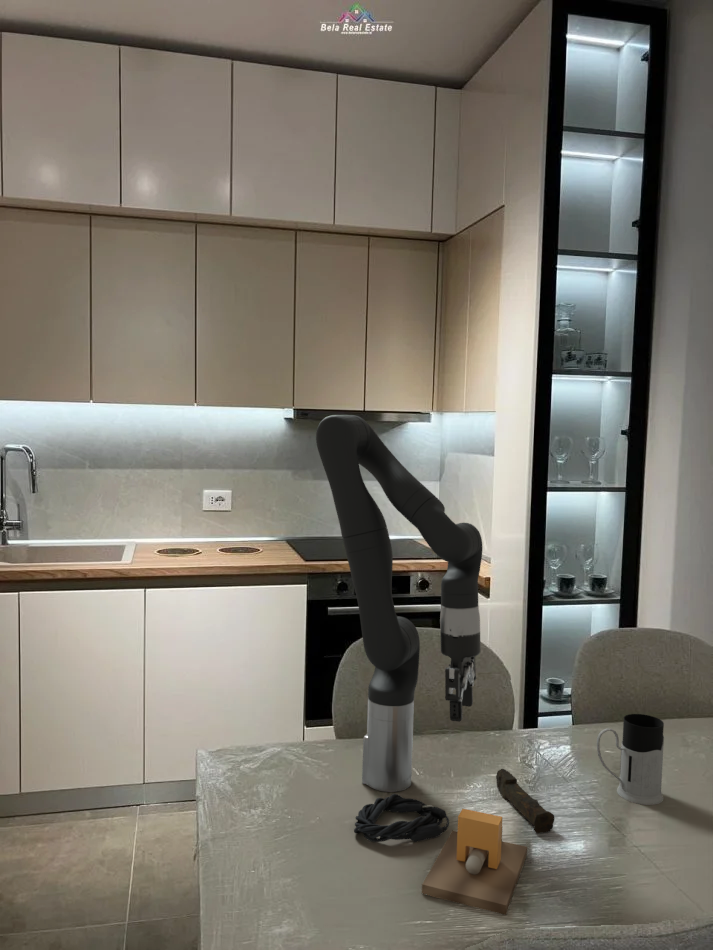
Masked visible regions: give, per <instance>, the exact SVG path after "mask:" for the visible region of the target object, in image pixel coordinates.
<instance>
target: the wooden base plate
mask: <svg viewBox="0 0 713 950" xmlns="http://www.w3.org/2000/svg"><path fill="white" fill-rule="evenodd" d="M502 829H503V825H502ZM457 832H458V830H453V829H452V830H451V832H450V834H449V836H448V837H447V839H446V841H445V842H444V844H443V846H442V848H441V850H440V851H439V853H438V855H437V857H436V859H435V861H434V862H433V864H432V867H431V868H430V870H429V872H428V873H427V874H426V877H425V878H424V880H423V882H422V884H421V894H422V893H423V894H422V895H425V894H427V895H426V896H429V895H430V897H433V898H437V899H439V900H444V901H448V902H454V903H456V904H461V905H464V906H469V907H472V908H477V909H481V910H485V911H488V912H492V913H496V914H500V915H504V916H506V915H507V914H508V910H509V908H510V905H511V902H512V899H513V896H514V893H515V890H516V889H517V885H518V882H519V879H520V876H521V873H522V870H523V868H524V866H525V862H526V859H527V857H528V846H526V845H521V844H516V843H512V842H508V841H504V840H502V841H501V860H500V863H499V865H498V868H497V869H494V868H490V867H488V859H489V851H488V850H483V849H479V848H474V847H470V849H469V854H468V856H467V859H466V861H465V862H464V861H460V860H456V859H457Z"/></svg>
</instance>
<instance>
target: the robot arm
mask: <svg viewBox="0 0 713 950" xmlns="http://www.w3.org/2000/svg"><path fill="white" fill-rule="evenodd" d="M315 434H316V436H315V441H316V443H315V444H316V447H317V451H318V454H319V457H320V460H321V463H322V466H323V469H324V471H325V475H326V478H327V480H328V484H329V488H330V490H331V495H332V499H333V503H334V506H335V512H336V515H337V518H338V519H337V521H338V523H339V528H340V533H341V538H342V542H343V547H344V551H345V556H346V559H347V562H348V566H349V572H350V575H351V580H352V585H353V589H354V592H355V596H356V600H357V605H358V611H359V620H360V628H361V637H362V643H363V648H364V651H365V656H366V657H367V659H368V661H369V662H370V664H372V665H373V666H374V667H375V668H374V672H373V675H372V676H371V678H370V679H371V680H370V681H369V684H368V689H367V690H368V691H367V722H366V734H365V735H364V736H363V740H362V742H363V743H362V765H361V766H362V771H361V772H362V773H361V776H362V777H361V783H362V784H364V785H367V786H368V787H369V788H371V789H374V790H376V791H380V792H387V793H388V792H389V793H394V792H401V791H404V790H406V788H407V789H408V788H409V787H411V785H412V775H413V770H412V768H413V765H412V764H413V744H414V743H413V741H414V740H413V738H414V735H413V734H414V715H415V713H414V709H415V707H414V706H415V705H414V704H415V691H416V687H417V684H418V678H419V669H420V668H419V665H420V649H421V648H420V647H421V646H420V645H421V643H420V636H419V631H418V630H417V627H416V626H415V625H414V623H413V622H412V621H411V620H409V619H408V618H407V617H404V616H398V615H397V613H396V608H395V604H394V600H393V593H392V592H393V591H392V583H393V581H392V579H393V563H394V562H393V561H394V559H393V548H392V543H391V538H390V534H389V533H390V532H389V530H388V526H387V523H386V519H385V517H384V515H383V513H382V511H381V509H380V507H379V506H378V503H376V501H375V499H374V498H373V496H372V495H371V493H370V492H369V490H368V488H367V487H366V484H365V482H364V480H363V476H362V473H361V469H360V466H361V467H363V468H364V469H365V470H367V471H368V472H369V474H371V475H372V476H373V477H374V478H375V480H376V481H377V482H378V484H379V486H380V487H381V489H382V491H383V492H384V495H385V496H386V498H387V499H388V501H389V502H390V503H391V505H392V506H393V507H394V508H395V509H396V511H398V512H399V513H400V514H401V515H402V516H403V517H404V518H405V519H406V520H407V522H409V523H410V524H411V525H412V526H413V527H414V528H416V529H417V530H418V533H420V535H421V536H422V538H423V539H424V541H425V543H426V544H427V546H428V547H429V548H430V549H431V550H432V552H433V553H435V555H436V556H437V557H439V558H440V559H441V560H443V561H444V562H447V569H446V572H445V574H444V576H443V577H442V579H441V581H440V602H441V603H440V604H441V605H440V615H439V616H440V617H439V618H440V619H439V624H440V628H439V630H440V631H439V633H440V653H441V654H442V655H443V656H445V657H448V658H450V663H449V664H448V667H445V669H444V673H445V676H444V677H445V687H444V688H445V691H444V692H445V693H444V694H445V695H444V697H445V701H447V702H448V701H449V720H450V721H451V722H458V723H459V722H461V721H462V720H463V707H468V708H469V707H472V706H473V704H474V702H473V701H474V699H473V697H474V695H473V694H474V693H473V691H474V690H473V687H474V685H475V681H476V679H477V675H476V673H477V672H476V670H477V668H476V657H477V656H479V655H480V654H481V648H482V647H481V616H480V615H481V614H480V609H479V576H480V573H481V572H480V571H481V565H482V557H483V540H482V536H481V533H480V531H479V530H478V528H477V527H476V526H475V525H473V524H472V523H468V522H458V523H455V521H452V519H451V517H449V516H448V515H447V513H445V511H446V510H445V509H446V508H445V505H444V503H443V502H442V501H441V500H440V499H439V498H438V497H437V496H436V495H435V494H433V493H432V492H431V491H430V490H429V488H428V487H426V486H425V485H424V484H423V483H422V482H420V481H419V480H418V479H417V478H416V477H415V476H414V475H413V474H412V473H411V472H409V471H408V469H407V468H406V467H405V466H404V465H403V464H402V463H401V462H400V461H399V460H398V458H397V457H396V456H395V455H394V454H393V452H392V451H391V450H390V449H389V448H388V447H387V446H386V445H385V443H384V442H383V440H381V438H380V437H379V435H378V434H377V433H376V432H375V430H374V429H373V428H372V426H371V425H370V424H369V423H368V422H367V421H366V420H365V419H364V418H362V417H360V416H359V415H354V414H332V415H329V416H326V417H324V418H323V419H322V420H321V421H320V422H319V424H318V426H317V428H316V433H315ZM454 690H455V693H454Z"/></svg>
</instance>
